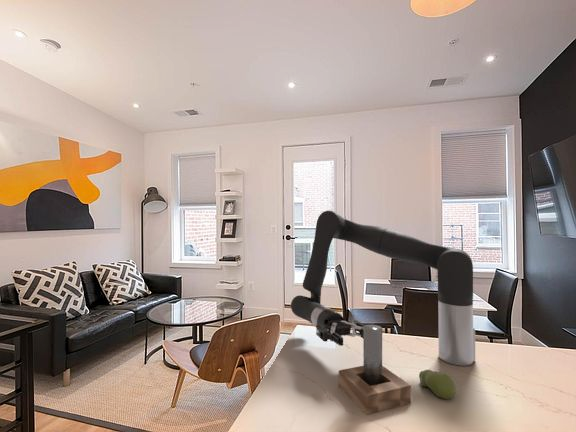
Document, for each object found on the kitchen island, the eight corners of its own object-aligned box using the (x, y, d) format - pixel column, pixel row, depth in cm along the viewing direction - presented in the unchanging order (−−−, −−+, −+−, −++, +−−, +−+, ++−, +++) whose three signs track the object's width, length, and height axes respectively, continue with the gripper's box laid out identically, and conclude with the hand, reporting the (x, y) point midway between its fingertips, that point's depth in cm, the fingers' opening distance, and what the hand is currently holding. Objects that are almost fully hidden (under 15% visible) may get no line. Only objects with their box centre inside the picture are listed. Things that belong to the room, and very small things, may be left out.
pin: (374, 387, 77) (374, 323, 77) (386, 397, 73) (386, 329, 73) (359, 391, 76) (359, 325, 76) (370, 400, 72) (370, 331, 72)
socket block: (378, 377, 82) (378, 362, 82) (410, 402, 71) (410, 385, 71) (338, 386, 78) (338, 370, 78) (366, 414, 67) (366, 395, 67)
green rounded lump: (439, 378, 71) (412, 366, 80) (442, 404, 70) (414, 388, 79) (459, 375, 72) (430, 363, 82) (463, 400, 71) (433, 385, 81)
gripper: (306, 311, 94) (332, 328, 79) (346, 306, 99) (378, 322, 84) (306, 335, 94) (332, 358, 79) (346, 329, 99) (378, 350, 84)
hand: (356, 339), depth 81 cm, fingers open, 8 cm apart
